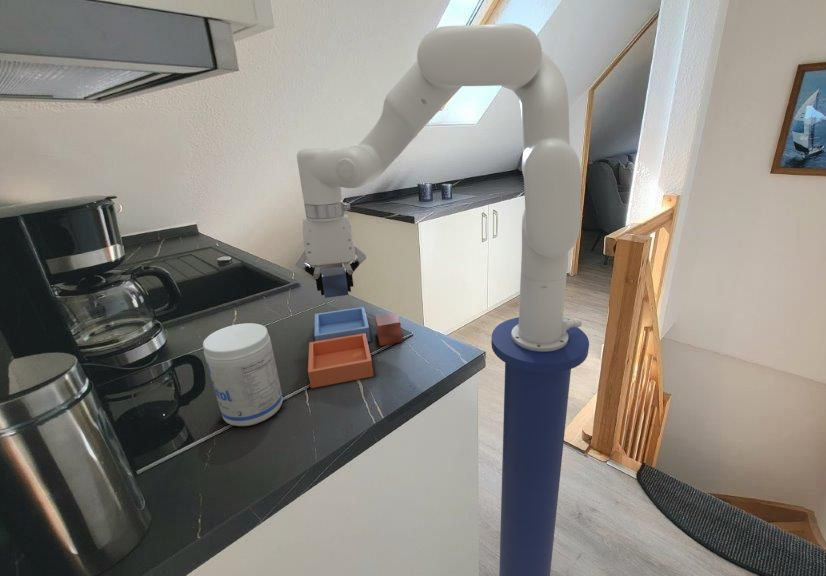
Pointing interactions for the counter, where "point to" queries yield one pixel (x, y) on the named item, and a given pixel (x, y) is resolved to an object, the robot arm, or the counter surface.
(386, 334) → the terracotta block
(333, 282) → the blue block
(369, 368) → the terracotta bin
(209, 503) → the counter surface
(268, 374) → the supplement tub
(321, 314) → the blue bin
